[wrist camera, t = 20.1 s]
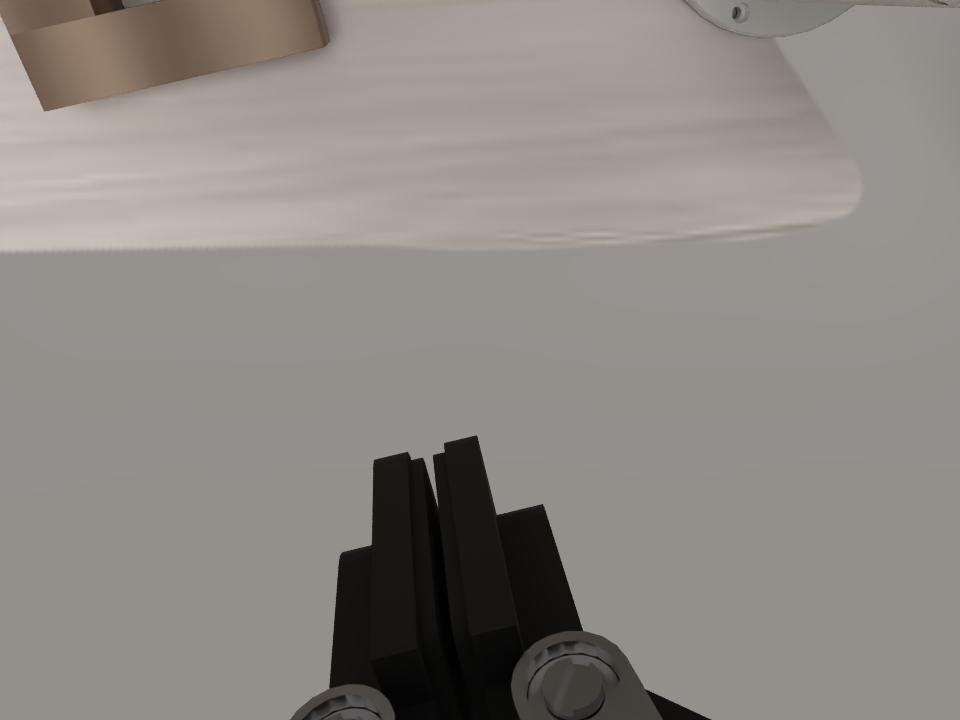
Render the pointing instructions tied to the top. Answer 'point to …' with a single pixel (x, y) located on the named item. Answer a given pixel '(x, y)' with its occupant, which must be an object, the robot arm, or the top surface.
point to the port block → (150, 41)
